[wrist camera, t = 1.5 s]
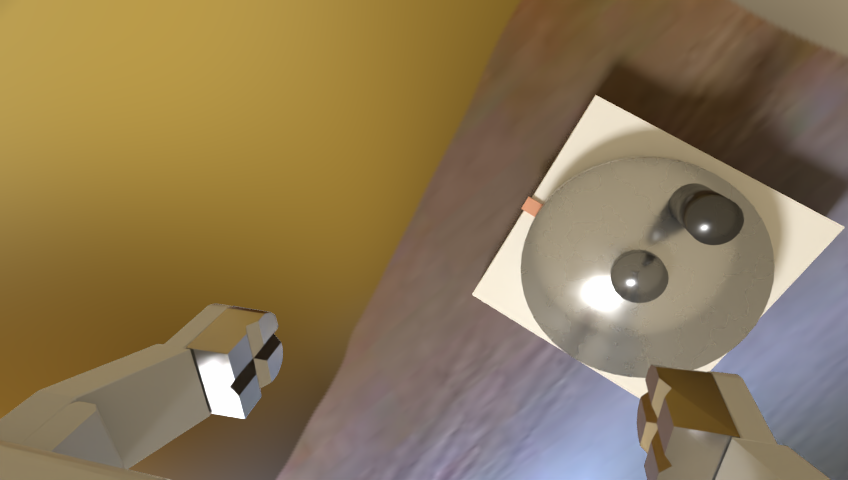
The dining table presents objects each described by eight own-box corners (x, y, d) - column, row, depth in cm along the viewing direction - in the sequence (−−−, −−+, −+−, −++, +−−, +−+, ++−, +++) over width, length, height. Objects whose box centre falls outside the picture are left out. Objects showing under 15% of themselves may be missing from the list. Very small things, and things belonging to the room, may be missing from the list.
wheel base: (824, 218, 36) (847, 228, 33) (661, 396, 43) (668, 418, 40) (591, 94, 39) (592, 93, 36) (475, 282, 46) (468, 294, 43)
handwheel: (665, 403, 40) (685, 468, 33) (485, 293, 43) (467, 331, 35) (822, 232, 34) (893, 266, 26) (600, 113, 36) (606, 113, 29)
